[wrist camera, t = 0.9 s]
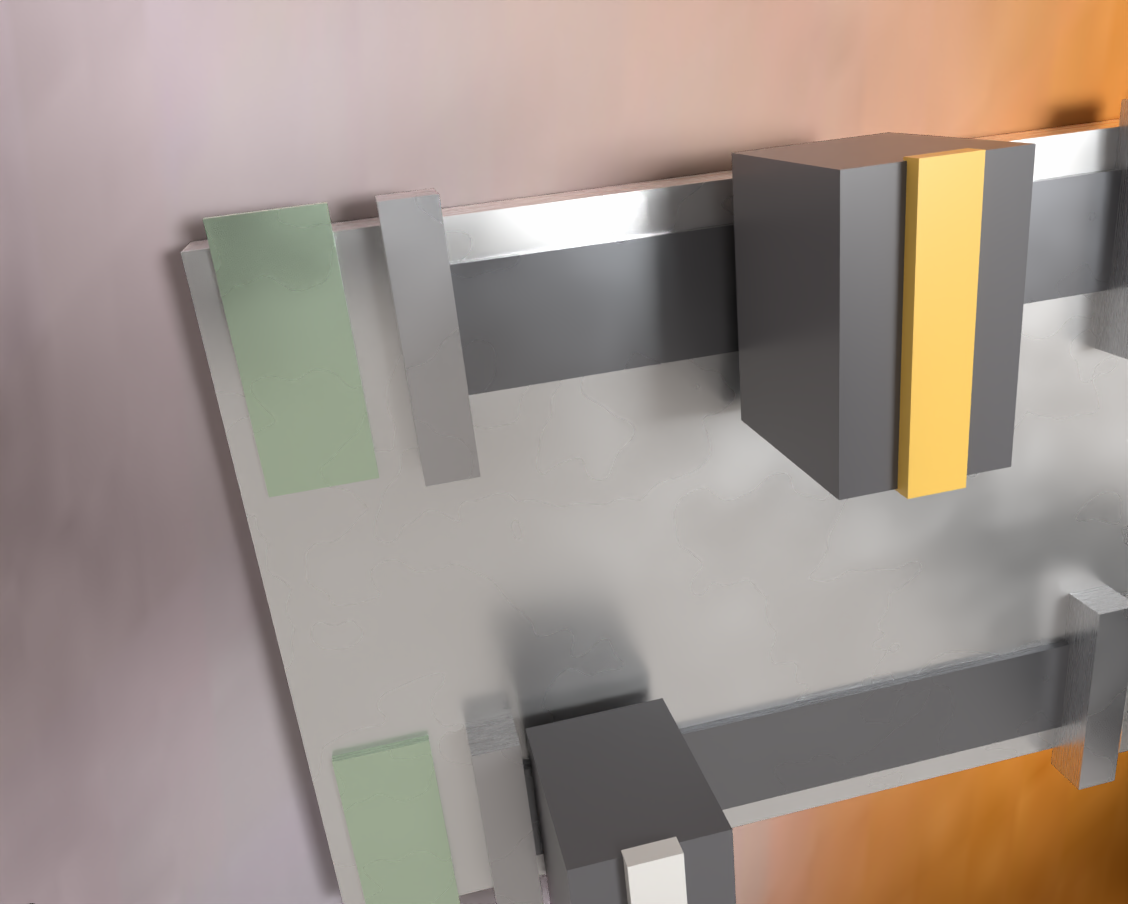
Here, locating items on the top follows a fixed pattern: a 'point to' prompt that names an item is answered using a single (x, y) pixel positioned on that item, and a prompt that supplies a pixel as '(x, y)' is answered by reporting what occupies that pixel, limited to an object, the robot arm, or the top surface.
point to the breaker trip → (883, 306)
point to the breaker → (628, 812)
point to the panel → (645, 517)
